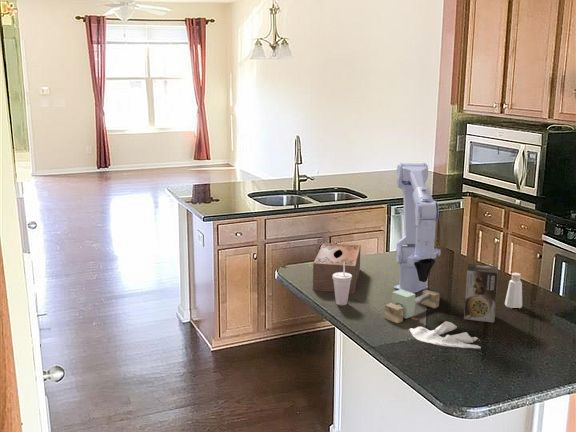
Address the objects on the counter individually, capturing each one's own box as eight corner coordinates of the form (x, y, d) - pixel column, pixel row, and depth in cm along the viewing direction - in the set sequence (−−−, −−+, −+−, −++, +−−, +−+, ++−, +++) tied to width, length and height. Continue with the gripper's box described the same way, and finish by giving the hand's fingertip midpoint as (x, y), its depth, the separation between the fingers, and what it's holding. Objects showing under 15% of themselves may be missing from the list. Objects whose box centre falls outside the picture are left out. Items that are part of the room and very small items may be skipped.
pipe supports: (419, 299, 203) (420, 287, 202) (445, 308, 196) (446, 295, 195) (378, 315, 189) (378, 302, 188) (404, 325, 182) (404, 312, 181)
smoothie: (350, 307, 196) (351, 266, 193) (330, 305, 197) (331, 264, 194) (352, 300, 202) (353, 260, 199) (333, 298, 203) (333, 258, 200)
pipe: (429, 296, 200) (430, 290, 199) (435, 298, 198) (436, 292, 197) (388, 312, 186) (388, 305, 186) (394, 314, 184) (394, 308, 184)
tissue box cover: (322, 267, 237) (323, 243, 234) (359, 270, 234) (360, 245, 232) (312, 290, 212) (313, 263, 210) (354, 293, 209) (355, 265, 207)
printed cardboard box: (494, 315, 190) (499, 266, 187) (494, 323, 184) (498, 272, 181) (464, 311, 193) (468, 263, 189) (463, 319, 187) (466, 269, 184)
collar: (399, 310, 193) (400, 289, 191) (414, 315, 188) (415, 294, 187) (391, 313, 190) (392, 292, 188) (406, 318, 186) (407, 297, 184)
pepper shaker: (522, 304, 199) (526, 272, 197) (521, 310, 195) (524, 277, 192) (505, 301, 202) (508, 270, 199) (503, 307, 197) (506, 275, 194)
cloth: (398, 330, 181) (398, 322, 180) (457, 318, 189) (458, 311, 189) (442, 359, 163) (442, 351, 162) (505, 345, 171) (505, 337, 171)
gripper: (421, 246, 182) (418, 289, 186) (449, 238, 192) (446, 279, 195) (402, 241, 188) (400, 283, 191) (431, 233, 197) (428, 273, 200)
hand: (422, 281), depth 193 cm, fingers closed
